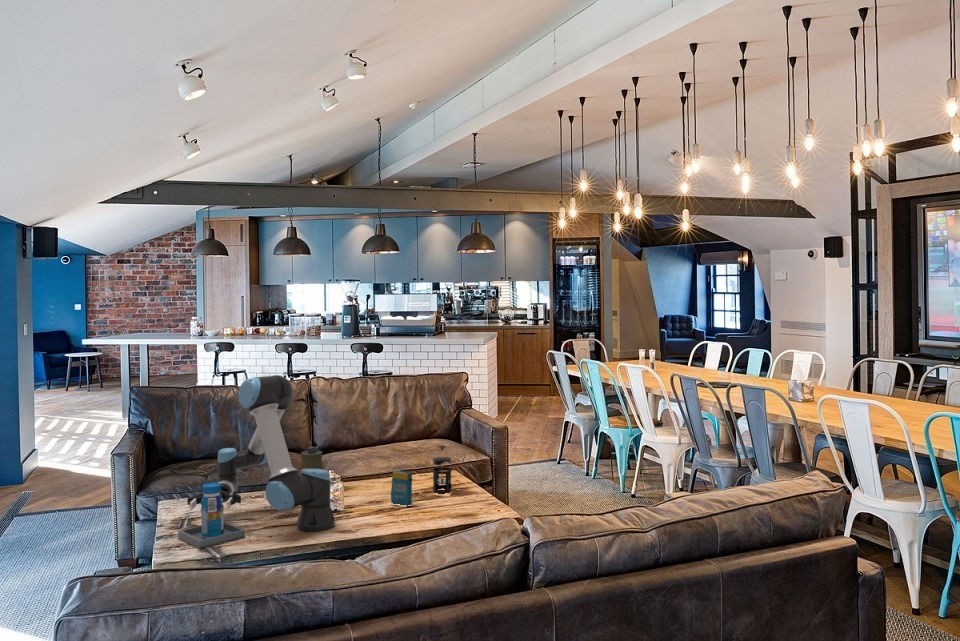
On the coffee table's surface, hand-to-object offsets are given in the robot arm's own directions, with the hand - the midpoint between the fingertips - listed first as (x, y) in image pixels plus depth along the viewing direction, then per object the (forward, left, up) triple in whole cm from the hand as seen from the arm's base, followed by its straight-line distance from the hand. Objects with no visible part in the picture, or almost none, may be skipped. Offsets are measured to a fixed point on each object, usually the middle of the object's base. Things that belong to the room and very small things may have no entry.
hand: (209, 506), depth 276 cm
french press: (-17, -107, -14) cm, 109 cm away
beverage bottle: (+2, -2, -13) cm, 13 cm away
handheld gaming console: (-18, -81, -14) cm, 84 cm away
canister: (+40, -73, -14) cm, 84 cm away
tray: (+2, -2, -13) cm, 14 cm away
